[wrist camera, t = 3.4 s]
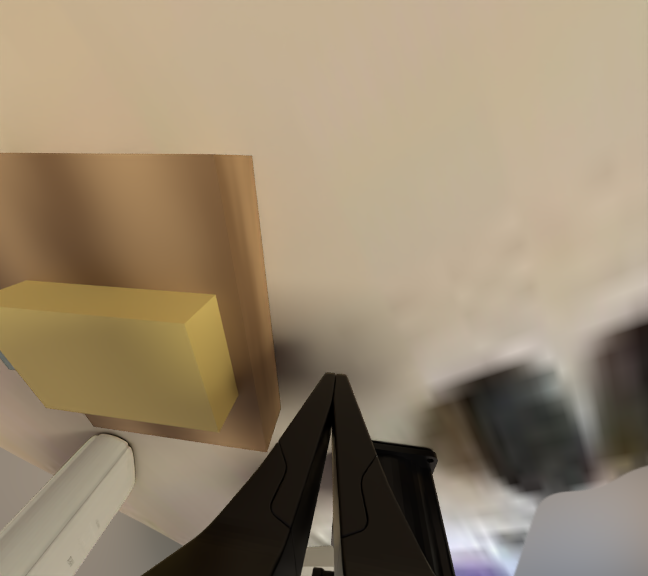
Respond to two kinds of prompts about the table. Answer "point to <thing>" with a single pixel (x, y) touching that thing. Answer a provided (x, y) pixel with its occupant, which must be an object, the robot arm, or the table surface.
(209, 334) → the pale yellow foam brick
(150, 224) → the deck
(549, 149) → the table surface
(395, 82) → the table surface
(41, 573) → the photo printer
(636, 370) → the table surface
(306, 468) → the robot arm
